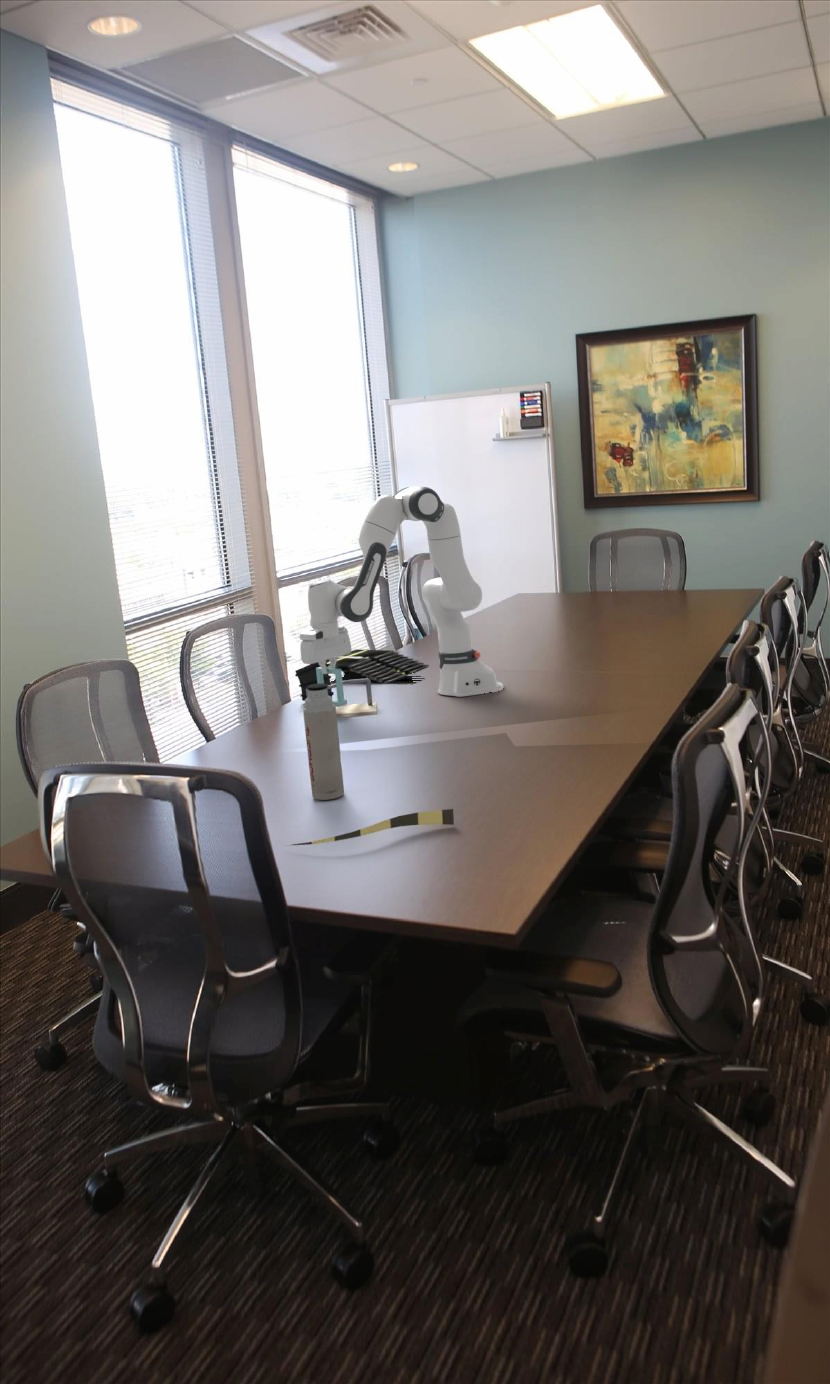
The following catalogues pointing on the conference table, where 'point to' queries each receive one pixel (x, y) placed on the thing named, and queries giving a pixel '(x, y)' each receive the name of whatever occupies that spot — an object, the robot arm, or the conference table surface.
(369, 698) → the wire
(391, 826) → the tape
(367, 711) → the board
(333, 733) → the thermos bottle
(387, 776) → the conference table surface
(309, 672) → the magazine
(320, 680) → the light blue tall piece
